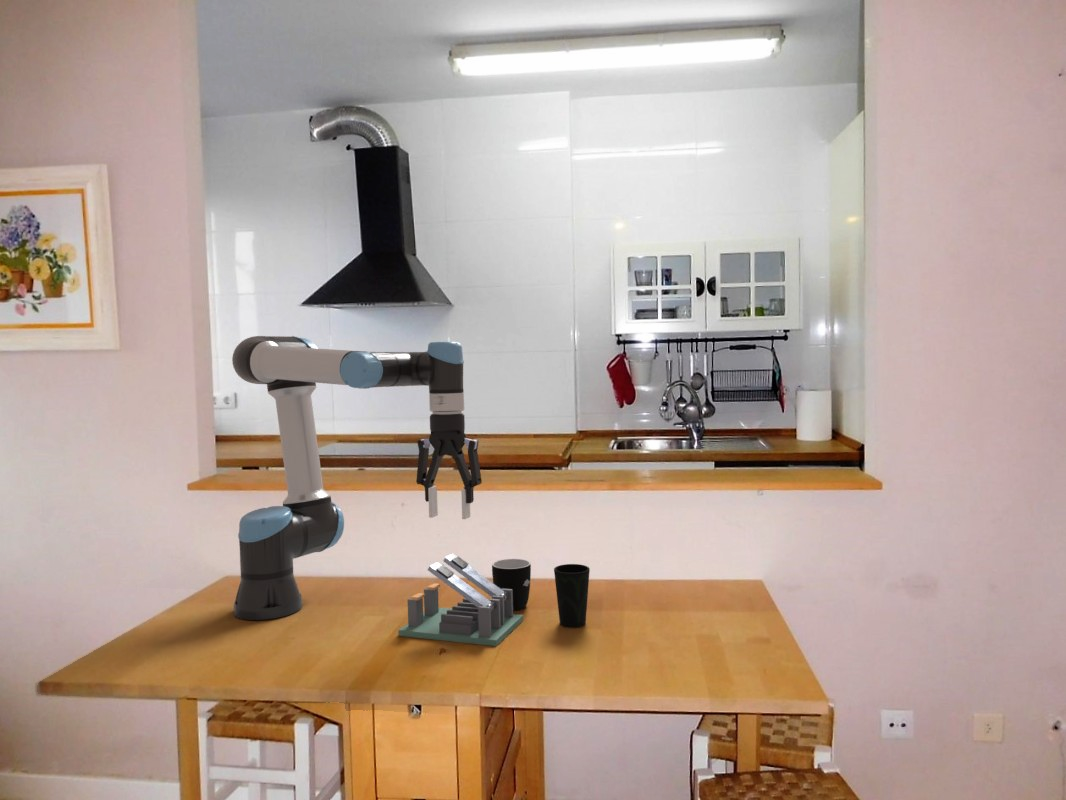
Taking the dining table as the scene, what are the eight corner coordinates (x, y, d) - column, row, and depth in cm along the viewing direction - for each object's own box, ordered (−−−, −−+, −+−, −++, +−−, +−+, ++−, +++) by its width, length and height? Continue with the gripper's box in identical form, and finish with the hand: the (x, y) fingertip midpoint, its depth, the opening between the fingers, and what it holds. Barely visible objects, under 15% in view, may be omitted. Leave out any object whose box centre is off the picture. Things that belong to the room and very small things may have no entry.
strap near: (426, 571, 159) (430, 564, 159) (434, 566, 162) (438, 560, 162) (487, 616, 155) (491, 609, 155) (493, 610, 158) (497, 604, 158)
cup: (548, 626, 163) (547, 570, 163) (564, 615, 170) (563, 562, 170) (581, 631, 160) (580, 574, 159) (596, 620, 166) (595, 566, 166)
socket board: (398, 635, 159) (397, 599, 159) (432, 611, 175) (431, 579, 174) (496, 646, 152) (495, 608, 152) (523, 620, 167) (522, 586, 167)
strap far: (442, 562, 166) (446, 555, 166) (449, 558, 170) (453, 551, 169) (500, 605, 162) (504, 598, 162) (506, 600, 166) (510, 593, 165)
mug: (528, 613, 172) (527, 568, 172) (489, 612, 174) (488, 568, 173) (536, 597, 184) (535, 555, 184) (499, 596, 185) (498, 555, 185)
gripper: (397, 413, 166) (400, 518, 167) (483, 413, 159) (485, 522, 160) (413, 411, 173) (416, 512, 174) (496, 411, 166) (498, 515, 167)
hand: (449, 517), depth 167 cm, fingers open, 7 cm apart
